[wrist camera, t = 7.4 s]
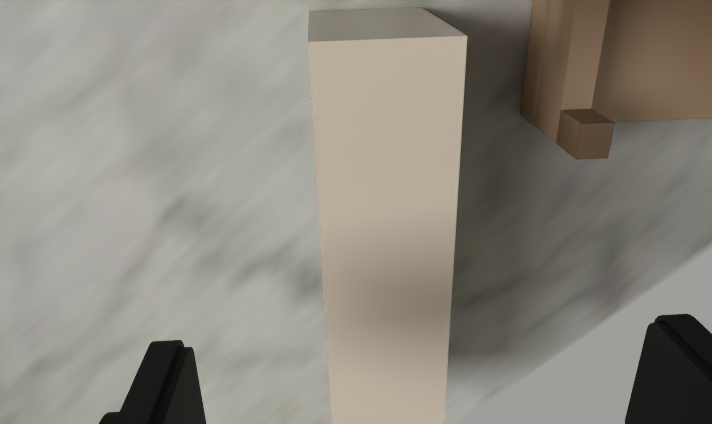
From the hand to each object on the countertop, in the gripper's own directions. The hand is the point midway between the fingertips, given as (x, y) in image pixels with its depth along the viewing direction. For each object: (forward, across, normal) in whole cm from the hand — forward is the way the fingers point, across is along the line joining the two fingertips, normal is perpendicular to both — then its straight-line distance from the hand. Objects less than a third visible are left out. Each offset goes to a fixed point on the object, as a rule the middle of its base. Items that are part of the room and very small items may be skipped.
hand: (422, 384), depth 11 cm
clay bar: (+10, 0, 0) cm, 10 cm away
